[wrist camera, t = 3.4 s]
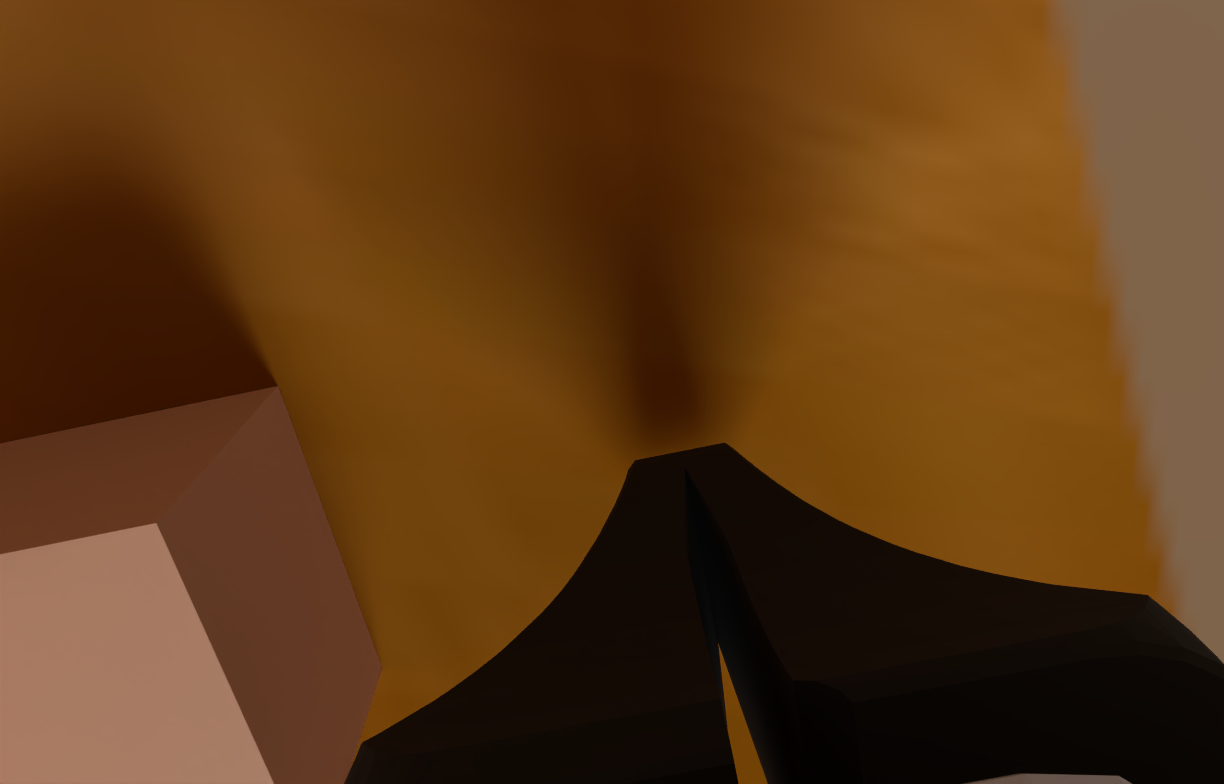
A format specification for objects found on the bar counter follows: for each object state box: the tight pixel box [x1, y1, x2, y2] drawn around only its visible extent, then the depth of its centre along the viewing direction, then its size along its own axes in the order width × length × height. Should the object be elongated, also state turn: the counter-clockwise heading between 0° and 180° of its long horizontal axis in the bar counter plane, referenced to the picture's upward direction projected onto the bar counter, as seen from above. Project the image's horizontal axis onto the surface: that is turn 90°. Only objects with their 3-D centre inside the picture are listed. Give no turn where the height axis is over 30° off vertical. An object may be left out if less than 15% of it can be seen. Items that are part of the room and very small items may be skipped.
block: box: [0, 386, 382, 784], centre depth 12 cm, size 5×5×4 cm
